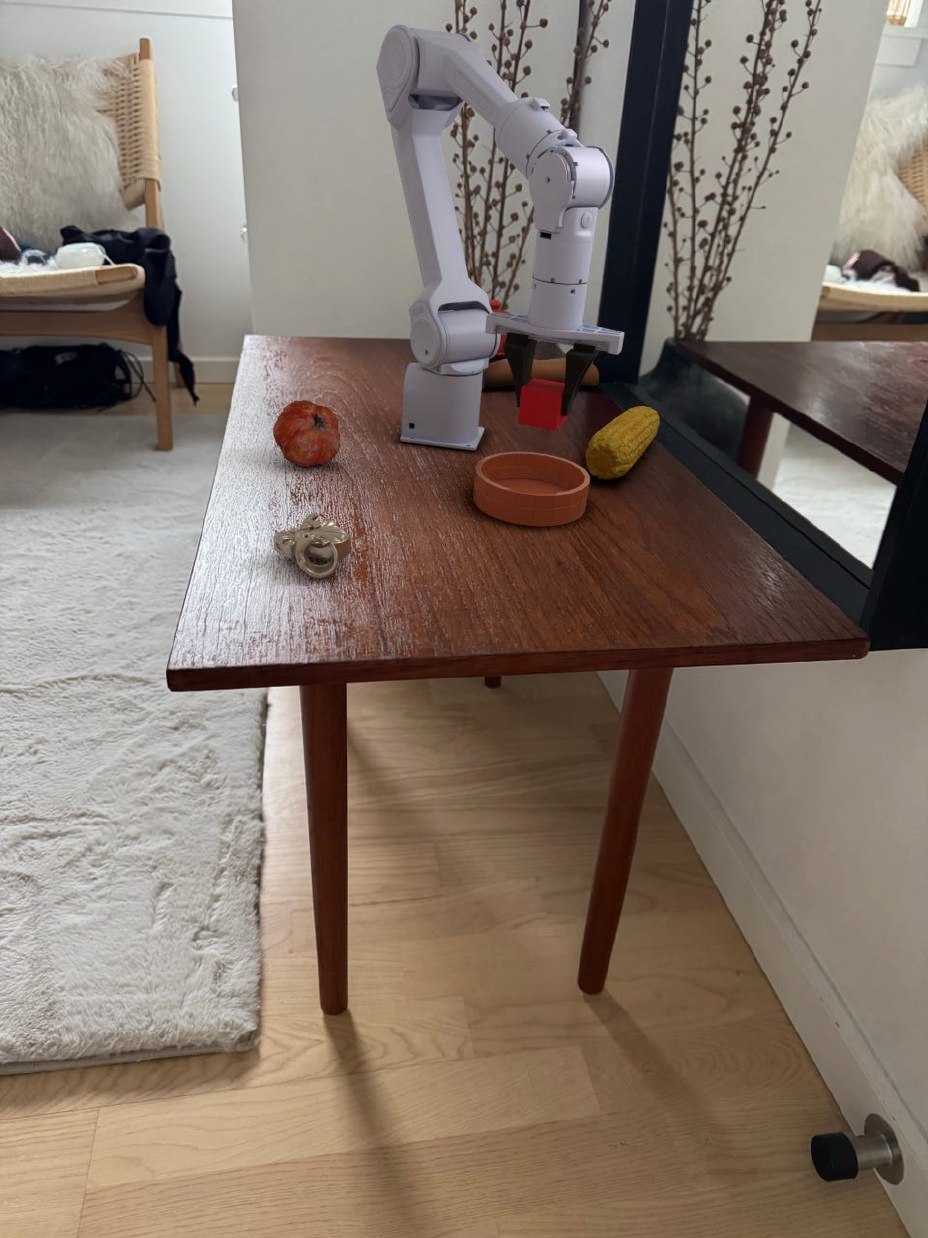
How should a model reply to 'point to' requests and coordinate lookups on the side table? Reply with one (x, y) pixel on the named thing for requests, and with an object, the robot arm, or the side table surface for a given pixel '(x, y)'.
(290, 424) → the pomegranate
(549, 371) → the brown rounded bar
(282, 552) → the ornament
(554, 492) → the pot
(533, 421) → the red block
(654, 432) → the food
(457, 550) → the side table surface
